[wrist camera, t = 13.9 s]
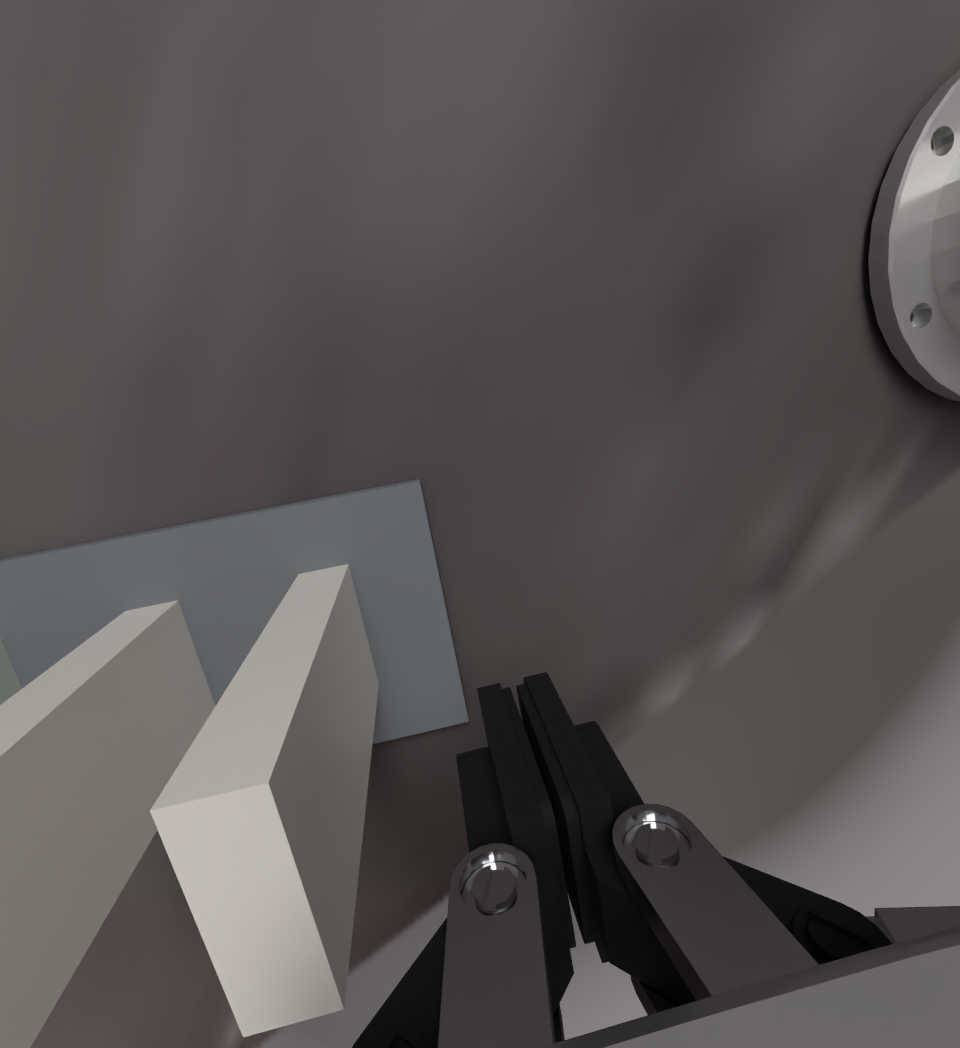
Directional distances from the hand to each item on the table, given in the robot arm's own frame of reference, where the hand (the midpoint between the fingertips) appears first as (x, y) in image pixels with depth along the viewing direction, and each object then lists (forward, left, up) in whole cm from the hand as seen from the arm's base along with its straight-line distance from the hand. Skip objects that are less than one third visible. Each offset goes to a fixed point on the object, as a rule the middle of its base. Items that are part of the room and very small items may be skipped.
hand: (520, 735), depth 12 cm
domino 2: (+4, +3, -8) cm, 10 cm away
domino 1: (+9, +6, -8) cm, 14 cm away
